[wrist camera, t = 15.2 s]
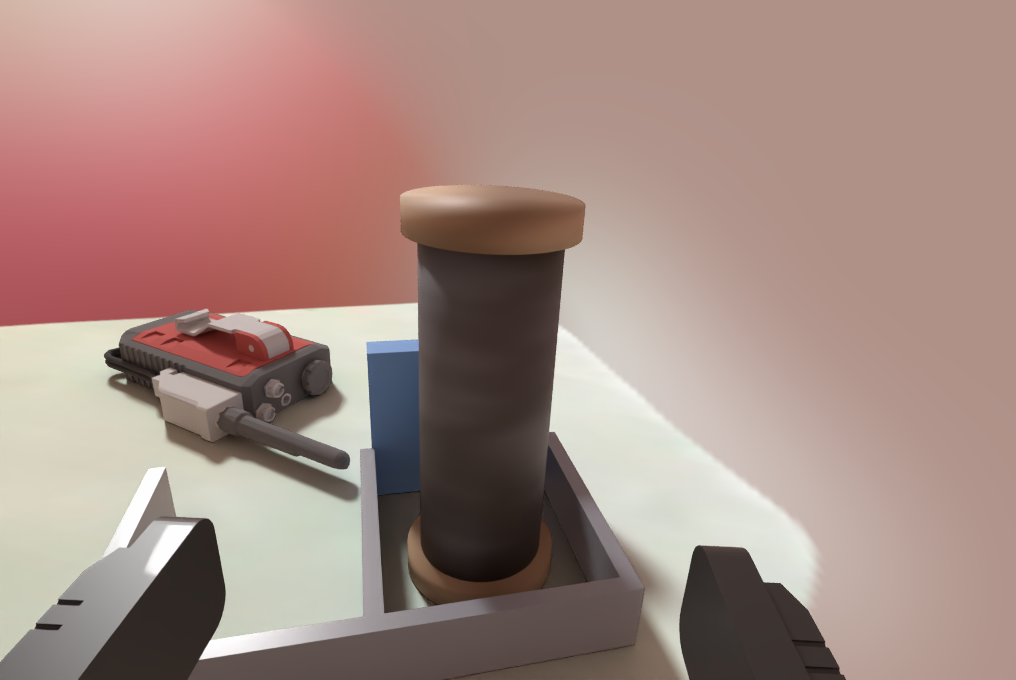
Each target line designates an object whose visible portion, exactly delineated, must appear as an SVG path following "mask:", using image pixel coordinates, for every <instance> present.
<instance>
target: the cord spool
mask: <svg viewBox="0 0 1016 680" xmlns="http://www.w3.org/2000/svg"><path fill="white" fill-rule="evenodd" d="M400 211H401V212H400V213H401V233H402V235H404V236H405V237H406V238H408V239H410V240H412V241H414V242H417V243H418V338H419V434H420V515H418V517H417V518H416V519H415V521H414V522H413V524H412V526H411V528H410V531H409V533H408V539H407V543H408V569H409V574H410V576H411V579H412V581H413V583H414V584H415V586H416V588H417V589H418V590H419V591H420V592H421V593H422V594H423V595H424V596H425V597H426V598H427V599H429V600H430V601H432V602H433V603H435V604H437V605H443V604H449V603H456V602H462V601H469V600H475V599H482V598H488V597H495V596H501V595H508V594H514V593H521V592H527V591H534V590H540V589H541V588H542V587H543V585H544V583H545V582H546V580H547V577H548V575H549V570H550V562H551V552H552V537H551V533H550V530H549V528H548V526H547V524H546V522H545V521H544V520H543V518H542V505H543V494H544V483H545V471H546V460H547V448H548V437H549V425H550V414H551V402H552V391H553V379H554V368H555V356H556V345H557V333H558V322H559V310H560V299H561V288H562V276H563V275H562V274H563V265H564V264H563V263H564V252H565V249H568V248H571V247H573V246H575V245H577V244H579V243H580V242H581V240H582V235H583V225H584V216H585V203H584V202H583V201H581V200H579V199H577V198H574V197H571V196H568V195H564V194H560V193H555V192H550V191H543V190H538V189H530V188H520V187H508V186H492V185H491V186H490V185H449V186H433V187H426V188H419V189H414V190H410V191H407V192H404V193H403V194H401V196H400Z"/></svg>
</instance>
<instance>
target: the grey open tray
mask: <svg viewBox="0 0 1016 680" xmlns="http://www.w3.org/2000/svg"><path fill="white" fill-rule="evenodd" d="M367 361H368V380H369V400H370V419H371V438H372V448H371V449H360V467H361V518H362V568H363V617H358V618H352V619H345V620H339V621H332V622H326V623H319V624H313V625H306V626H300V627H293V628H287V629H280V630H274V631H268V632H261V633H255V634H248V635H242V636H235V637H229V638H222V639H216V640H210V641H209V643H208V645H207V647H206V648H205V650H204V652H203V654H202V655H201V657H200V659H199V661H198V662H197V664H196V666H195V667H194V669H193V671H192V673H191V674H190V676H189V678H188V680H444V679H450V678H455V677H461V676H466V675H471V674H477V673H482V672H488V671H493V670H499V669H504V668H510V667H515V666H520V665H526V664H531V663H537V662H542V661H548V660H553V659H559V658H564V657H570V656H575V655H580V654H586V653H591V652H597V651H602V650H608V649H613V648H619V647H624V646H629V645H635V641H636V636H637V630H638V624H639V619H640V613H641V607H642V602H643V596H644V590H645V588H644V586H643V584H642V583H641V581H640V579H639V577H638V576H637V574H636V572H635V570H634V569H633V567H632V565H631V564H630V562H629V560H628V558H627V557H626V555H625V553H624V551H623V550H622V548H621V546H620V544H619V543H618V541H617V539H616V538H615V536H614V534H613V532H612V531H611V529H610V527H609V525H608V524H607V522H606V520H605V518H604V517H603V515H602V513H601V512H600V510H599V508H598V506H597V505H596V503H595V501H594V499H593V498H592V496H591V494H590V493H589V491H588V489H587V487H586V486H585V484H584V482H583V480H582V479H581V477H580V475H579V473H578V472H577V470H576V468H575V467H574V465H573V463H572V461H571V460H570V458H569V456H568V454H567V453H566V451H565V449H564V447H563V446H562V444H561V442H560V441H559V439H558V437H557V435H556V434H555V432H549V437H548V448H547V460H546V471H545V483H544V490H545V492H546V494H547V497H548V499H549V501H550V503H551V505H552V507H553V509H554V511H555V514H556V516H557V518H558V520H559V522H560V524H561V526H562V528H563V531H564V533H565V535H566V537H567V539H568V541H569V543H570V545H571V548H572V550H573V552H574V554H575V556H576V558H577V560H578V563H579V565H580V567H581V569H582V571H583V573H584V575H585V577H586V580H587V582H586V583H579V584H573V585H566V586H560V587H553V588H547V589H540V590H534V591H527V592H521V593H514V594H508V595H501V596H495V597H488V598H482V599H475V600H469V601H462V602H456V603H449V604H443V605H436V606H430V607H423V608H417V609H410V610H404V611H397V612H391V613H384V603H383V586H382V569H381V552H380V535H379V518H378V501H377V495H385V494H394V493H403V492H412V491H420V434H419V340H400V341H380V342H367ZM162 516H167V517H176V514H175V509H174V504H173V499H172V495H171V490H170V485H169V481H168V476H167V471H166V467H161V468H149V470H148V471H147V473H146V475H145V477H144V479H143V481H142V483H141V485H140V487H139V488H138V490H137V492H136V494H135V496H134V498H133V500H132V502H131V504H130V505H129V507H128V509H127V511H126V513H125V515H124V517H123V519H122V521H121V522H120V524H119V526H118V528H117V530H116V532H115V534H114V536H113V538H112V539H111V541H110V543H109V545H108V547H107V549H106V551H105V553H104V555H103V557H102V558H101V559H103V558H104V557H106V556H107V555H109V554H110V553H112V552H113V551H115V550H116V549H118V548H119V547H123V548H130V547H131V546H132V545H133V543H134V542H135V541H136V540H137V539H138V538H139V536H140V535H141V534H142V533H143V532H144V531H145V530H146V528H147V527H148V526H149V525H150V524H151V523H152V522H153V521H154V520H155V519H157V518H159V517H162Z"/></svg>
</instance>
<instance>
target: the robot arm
mask: <svg viewBox="0 0 1016 680" xmlns="http://www.w3.org/2000/svg"><path fill="white" fill-rule="evenodd" d="M225 595H226V591H225V583H224V578H223V572H222V567H221V561H220V556H219V550H218V545H217V540H216V534H215V529H214V526H213V523H212V522H211V521H210V520H209V519H206V518H186V517H167V516H162V517H159V518H157V519H155V520H154V521H153V522H152V523H151V524H150V525H149V526H148V527H147V528H146V530H145V531H144V532H143V533H142V534H141V535H140V536H139V538H138V539H137V540H136V541H135V542H134V543H133V545H132V546H131V547H130V548H123V547H119V548H118V549H116V550H115V551H113V552H112V553H110V554H109V555H107V556H106V557H104V558H103V559H101V560H100V561H98V562H97V563H95V564H94V565H92V566H91V567H89V568H88V569H86V570H85V571H84V572H83V573H82V574H81V575H80V576H79V577H78V578H77V579H76V580H75V581H74V583H73V584H72V585H71V586H70V587H69V588H68V589H67V590H66V591H65V592H64V593H63V595H62V596H61V597H60V598H59V599H58V603H57V605H52V606H51V608H50V609H49V610H48V611H47V612H46V613H45V614H44V615H43V616H42V617H41V618H40V620H39V621H38V622H37V623H36V627H35V629H34V630H29V631H28V633H27V634H26V635H25V636H24V637H23V638H22V639H21V640H20V641H19V642H18V643H17V645H16V646H15V647H14V648H13V649H12V650H11V651H10V652H9V653H8V654H7V655H6V656H5V658H4V659H3V660H2V661H1V662H0V680H188V678H189V676H190V674H191V673H192V671H193V669H194V667H195V666H196V664H197V662H198V661H199V659H200V657H201V655H202V654H203V652H204V650H205V648H206V647H207V645H208V643H209V641H210V640H211V638H212V636H213V634H214V633H215V631H216V629H217V627H218V625H219V622H220V620H221V617H222V613H223V610H224V605H225ZM679 631H680V643H681V649H682V654H683V658H684V662H685V665H686V669H687V672H688V676H689V679H690V680H846V679H845V677H844V675H841V674H840V672H839V666H838V664H837V662H836V660H835V659H834V657H833V655H832V653H831V651H830V649H829V648H826V647H825V641H824V639H823V637H822V635H821V633H820V631H819V629H818V628H817V626H816V624H815V622H814V620H813V618H812V617H811V615H810V613H809V611H808V610H807V609H806V608H805V607H804V606H803V605H802V604H801V603H800V602H799V601H798V600H797V599H796V598H795V597H794V596H793V595H792V594H791V593H790V592H789V591H788V590H787V589H786V588H785V587H784V586H783V585H782V584H781V583H765V582H763V581H762V578H761V576H760V574H759V572H758V570H757V568H756V566H755V564H754V562H753V560H752V558H751V556H750V554H749V553H748V551H747V550H746V549H744V548H739V547H720V546H700V545H699V546H696V547H695V549H694V551H693V555H692V559H691V564H690V569H689V574H688V579H687V583H686V588H685V593H684V598H683V603H682V607H681V613H680V623H679Z"/></svg>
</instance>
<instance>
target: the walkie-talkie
mask: <svg viewBox="0 0 1016 680" xmlns="http://www.w3.org/2000/svg"><path fill="white" fill-rule="evenodd" d="M104 357H105V359H106V360H105V363H106V364H107V365H108V366H109V367H111V368H113V369H116V370H119V371H121V372H124V373H125V374H126V379H131V381H136V382H137V383H142V384H143V385H144V386H145V385H147V386H148V387H149V388H154V392H155V396H157V397H160V402H161V407H162V412H163V416H164V420H165V421H168V422H170V423H172V424H175V425H177V426H180V427H182V428H184V429H187V430H189V431H192V432H194V433H196V434H199V435H201V438H202V439H205V440H207V441H210V442H215V441H217V440H219V439H220V438H222V437H224V436H226V435H228V434H232V435H235V436H237V437H241V436H244V437H247V438H249V439H252V440H255V441H257V442H260V443H262V444H265V445H267V446H270V447H272V448H275V449H278V450H280V451H283V452H285V453H288V454H290V455H293V456H296V457H297V456H300V455H301V456H303V457H306V458H308V459H311V460H314V461H316V462H319V463H321V464H324V465H327V466H329V467H332V468H336V469H347V468H348V466H349V464H350V457H349V455H348V454H347V453H346V452H345V451H342V450H339V449H337V448H334V447H331V446H329V445H326V444H323V443H321V442H318V441H315V440H313V439H310V438H307V437H304V436H302V435H299V434H296V433H294V432H291V431H288V430H286V429H283V428H280V427H278V426H275V425H272V424H269V423H267V422H270V421H272V420H273V419H274V417H275V415H276V413H277V412H279V411H281V410H283V409H284V408H286V407H288V406H290V405H292V404H294V403H295V402H297V401H299V400H301V399H303V398H305V397H306V396H308V395H310V394H312V395H320V394H322V393H323V392H324V391H325V390H326V389H327V388H328V386H329V385H330V383H332V368H331V365H330V352H329V348H328V346H326V345H323V344H319V343H316V342H313V341H309V340H306V339H302V338H299V337H295V336H292V335H290V334H289V332H288V331H287V329H285V328H284V327H283V326H281V325H279V324H276V323H272V322H268V321H264V322H260V319H258V318H254V317H251V316H247V315H244V314H240V313H237V314H234V315H231V316H228V317H225V316H221V315H218V314H214V313H209V311H208V309H205V310H202V311H195V310H188V311H185V312H182V313H179V314H175V315H173V316H169V317H166V318H163V319H159V320H156V321H153V322H150V323H147V324H143V325H140V326H137V327H134V328H131V329H129V330H127V331H126V332H125V333H124V334H123V335H122V336H121V339H120V342H119V348H116V349H111V350H108V351H107V352H106V353H105V354H104ZM264 421H267V422H264Z"/></svg>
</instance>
